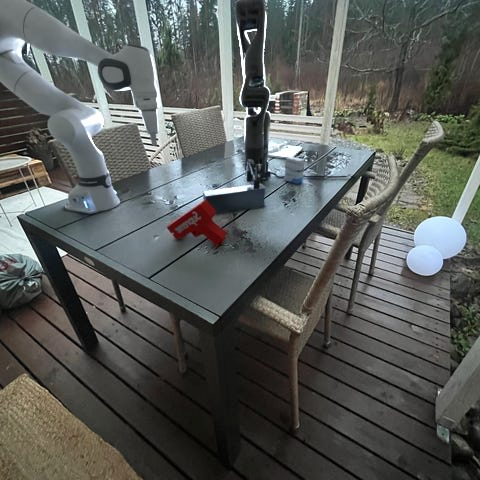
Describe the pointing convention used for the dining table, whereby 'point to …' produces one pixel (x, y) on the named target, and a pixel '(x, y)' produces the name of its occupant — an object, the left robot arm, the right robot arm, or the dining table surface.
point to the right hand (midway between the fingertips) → (252, 185)
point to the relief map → (282, 150)
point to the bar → (235, 198)
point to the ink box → (294, 170)
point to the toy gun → (198, 224)
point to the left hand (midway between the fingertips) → (153, 142)
